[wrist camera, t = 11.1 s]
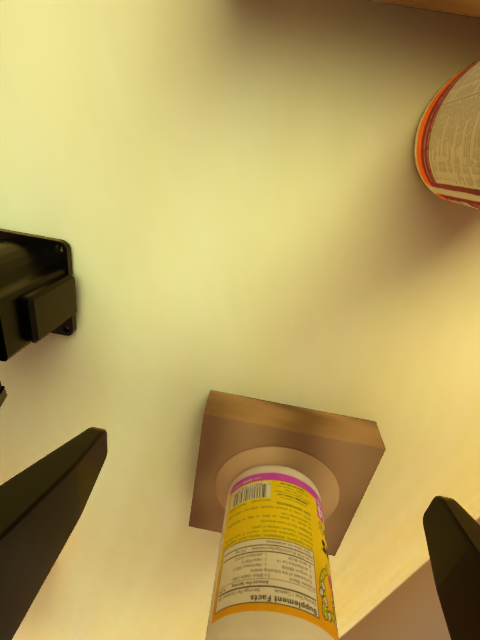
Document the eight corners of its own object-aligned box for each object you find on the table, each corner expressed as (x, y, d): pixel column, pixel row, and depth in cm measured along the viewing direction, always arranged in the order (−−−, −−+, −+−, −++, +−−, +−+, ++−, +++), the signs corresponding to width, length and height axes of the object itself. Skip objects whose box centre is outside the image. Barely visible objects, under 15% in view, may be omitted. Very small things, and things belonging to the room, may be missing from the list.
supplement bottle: (301, 532, 26) (318, 827, 15) (219, 508, 26) (170, 788, 14) (335, 475, 23) (390, 789, 12) (242, 448, 23) (204, 738, 11)
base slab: (195, 498, 30) (188, 527, 27) (211, 390, 24) (203, 414, 22) (330, 525, 29) (334, 557, 27) (375, 421, 24) (386, 450, 22)
